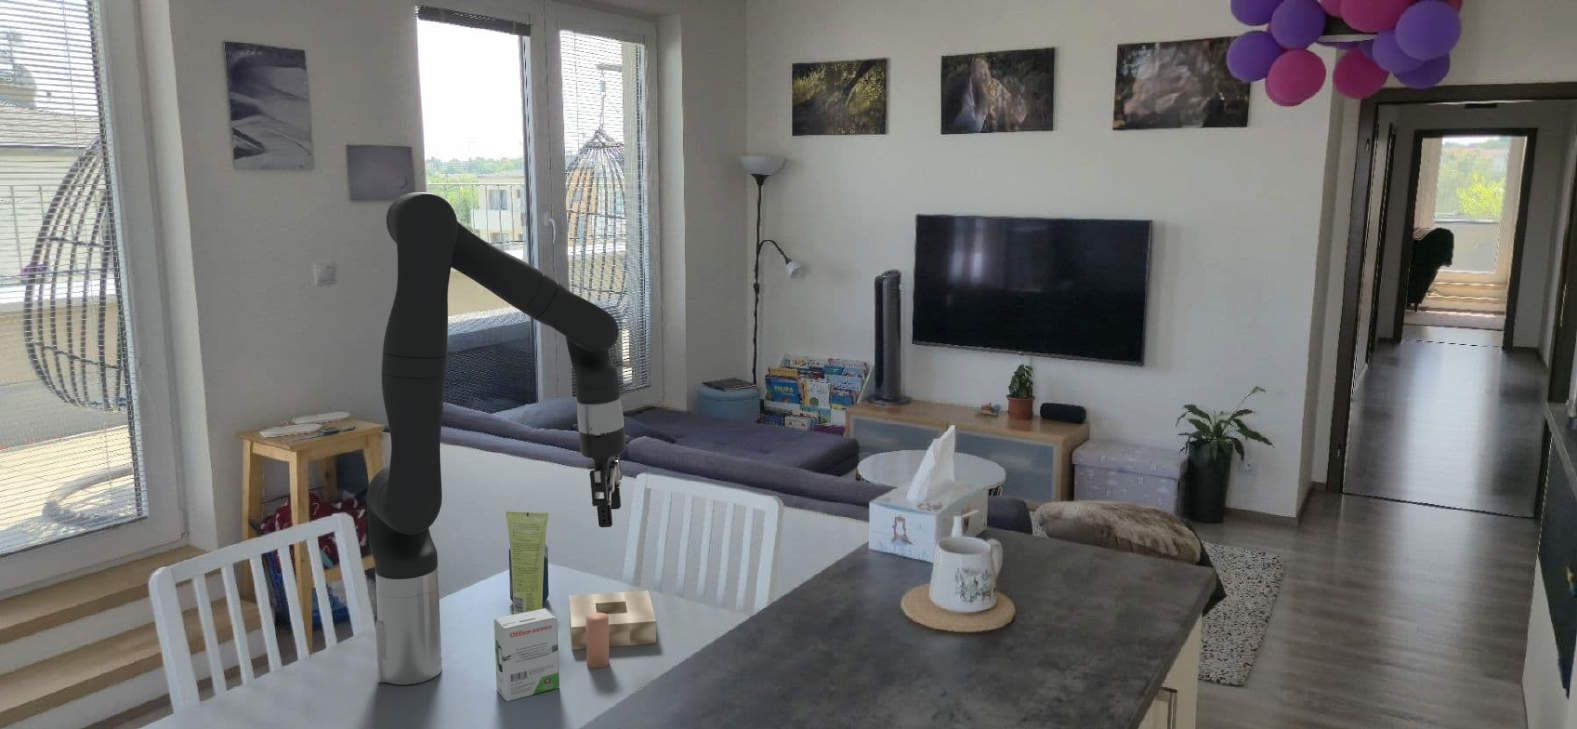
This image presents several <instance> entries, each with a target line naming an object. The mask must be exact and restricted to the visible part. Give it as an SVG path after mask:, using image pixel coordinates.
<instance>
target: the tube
mask: <svg viewBox="0 0 1577 729" xmlns="http://www.w3.org/2000/svg"><path fill="white" fill-rule="evenodd" d="M505 518H506V522H507V529H508V540H509V549H510V553H511V566H512V583H513V602H512V603H513V606H512V607H513V615H515V614H520V613H525V612H530V611H535V610H539V609H543V605H542V599H543V570H544V552H545V544H546V538H547V527H548V520H549V512H531V511H529V512H527V511H511V510H510V511H509V510H506V511H505Z"/></svg>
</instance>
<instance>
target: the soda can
mask: <svg viewBox="0 0 1577 729" xmlns="http://www.w3.org/2000/svg"><path fill="white" fill-rule="evenodd" d="M548 551H549V550H548V546H547V544H546V543H545V552H544V570H543V599H542V604H543V605H544V604H545V603H546V601H547V599H548V597H549V595H550V594H549V592H550V591H549V590H550V588H549V552H548ZM508 566H509V568H508V570H509V572H508V573H509V598H510V601H511V602H512V603H513V583H512V566H511V553H510V548H508Z"/></svg>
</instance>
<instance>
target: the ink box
mask: <svg viewBox="0 0 1577 729" xmlns="http://www.w3.org/2000/svg"><path fill="white" fill-rule="evenodd" d="M493 623H494V624H493V625H494V627H493V629H494V630H493V631H494V655H495V676H496V679H495V680H496V681H495V682H496V691H497V692H498V693H499V695H500V696H501V695H502V698H503V699H504V700H505V701H506V702H511V701H515V700H518V699H522V698H525V697H529V696H533V695H536V694H537V695H538V694H541V693H544V692H549V691H552V690H555V689H560V686H561V685H560V666H559V664H560V663H559V662H560V661H559V660H560V659H559V641H558V640H559V639H558V638H559V634H558V632H559V631H558V618H557V617H556V616H555V615H554V614H553V612H551V611H550V610H549V609H548V608H546V607H544V608H542V609H539V610H535V611H530V612H525V613H520V614H515V615H514V614H511V615H506V616H501V617H496V618H494V620H493Z"/></svg>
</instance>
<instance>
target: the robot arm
mask: <svg viewBox="0 0 1577 729" xmlns="http://www.w3.org/2000/svg"><path fill="white" fill-rule="evenodd" d="M385 221H386V222H385V224H386V229H387V231H388V234H389V236H390V238H391V239H392V240H393V242H394V243H395V244H396V250H397V255H396V256H397V282H396V291H395V295H394V299H393V304H392V306H391V310H390V313H389V318H388V321H387V324H386V327H385V332H384V337H383V345H382V355H381V356H382V360H381V390H382V397H383V398H382V399H383V404H384V409H385V414H386V418H387V423H388V424H387V425H388V428H389V434H390V435H389V436H390V446H391V447H390V460H389V465H388V466H385V467H383V468H382V469H381V470H379V471H378V472H377V473H376V474H375V475H374V476H373V477H372V479H371V481H370V482H369V485H368V488H367V494H366V516H367V526H368V539H369V545H370V553H371V555H372V558H373V561H374V571H375V587H376V588H375V589H376V590H375V592H376V610H377V620H376V623H375V642H376V643H375V645H376V664H377V666H376V667H377V682H378V683H388V684H392V685H397V686H399V685H403V686H404V685H415V684H420V683H424V682H427V681H430V680H431V679H434V678H435V677H437V676H438V675H439V674H441V672H442V669H443V667H442V666H443V665H442V664H443V663H442V662H443V661H442V660H443V655H442V637H441V612H440V611H441V610H440V586H439V566H438V564H439V563H438V562H439V559H438V550H437V548H436V545H435V543H434V541H433V539H432V535H431V532H430V531H431V530H430V528H431V526H432V525H433V524H434V523H435V521H436V519H437V518H438V516H439V513H440V511H441V507H442V502H443V487H442V484H443V483H442V468H441V435H442V434H441V433H442V425H443V424H442V423H443V416H444V415H443V413H444V398H445V395H444V394H445V388H446V378H447V364H448V363H447V362H448V339H449V338H448V336H449V335H448V334H449V331H448V330H449V303H448V301H449V286H450V284H449V283H450V278H451V277H450V276H451V271H452V269H453V270H456V271H457V272H459V273H461V274H462V275H464V276H466V277H468V278H470V279H471V280H473V281H474V282H476V283H478V284H479V285H480V286H482V287H483V288H485V289H486V290H488V291H490V292H491V293H492V294H494V295H496V296H497V297H498V298H500V299H501V300H503V301H504V302H506V303H507V304H509V305H511V306H512V307H514V308H515V309H516V310H519V311H520V312H522V313H524V314H525V315H527V316H528V317H530V318H531V319H533V320H535V321H536V322H539V323H541V324H543V325H546V326H548V327H551V328H553V329H554V330H556V331H557V332H559V333H560V334H562V335H563V336H565V341H566V346H567V350H568V353H569V357H570V363H571V366H572V368H573V371H574V379H575V380H574V382H575V383H574V384H575V391H576V401H577V402H576V403H577V406H576V407H577V408H576V410H577V411H576V419H577V426H578V427H577V428H578V435H579V445H580V447H579V448H580V454H581V455H582V456H583V457H584V458H587V459H589V458H590V459H592V460H593V461H594V462H593V464H594V466H591V470H590V471H589V478H590V490H591V491H590V492H591V500H592V501H591V505H592V507H596V510H597V511H596V512H597V520H598V526H599V528H611V527H612V526H613V524H614V523H613V513H612V510H620V509H621V507H622V500H621V489H620V487H621V484H622V481H623V480H622V478H623V475H622V464H621V456H620V455H621V454H623V453H624V452H625V451H626V450H627V443H626V441H627V440H626V432H625V431H626V430H625V420H624V413H623V412H624V409H623V407H622V406H623V405H622V402H621V396H620V394H621V393H620V386H619V376H618V371H617V368H616V366H615V365H614V364H613V363H612V361H611V357H610V353H609V350H610V349H612V348H613V347H614V346H615V344H617V341H618V340H619V335H620V333H619V331H620V330H619V325H618V322H617V320H616V319H615V317H614V316H613V315H612V314H611V313H609V312H608V311H607V310H605V309H603V308H602V307H600V306H598V305H597V304H594V303H593V302H591V301H589V300H587V299H585V298H583V297H581V296H580V295H577V294H575V293H574V292H572V291H570V289H568V288H566V287H565V286H564V285H563V284H562V283H560V282H559V281H557V280H555V279H554V278H552V277H551V276H549V275H547V274H546V273H544V272H543V271H541V270H539V269H538V268H536V267H535V266H533V265H531V264H530V263H527V262H526V261H524V260H522V259H520V258H518V257H517V256H514V255H512V254H510V253H509V252H506V251H504V250H502V249H500V248H498V247H496V246H494V245H493V244H491V243H490V242H488V241H486V240H484V239H482V238H481V237H479V236H478V235H476V234H475V233H473V231H471V230H469V229H468V228H467V227H465V226H464V225H463V224H461V223H460V222H459V221H458V218H457V214H456V212H455V209H454V208H453V206H452V205H451V203H450V202H449V201H448V200H446V199H445V198H444V197H442V196H441V195H438V194H435V193H432V192H422V191H420V192H419V191H413V192H409V193H406V194H403V195H401V196H399V197H397V198H396V199H395V200H393V202H392V203H391V204H390V206H389V208H388V209H387V212H386V218H385ZM600 494H603V498H600Z"/></svg>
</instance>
